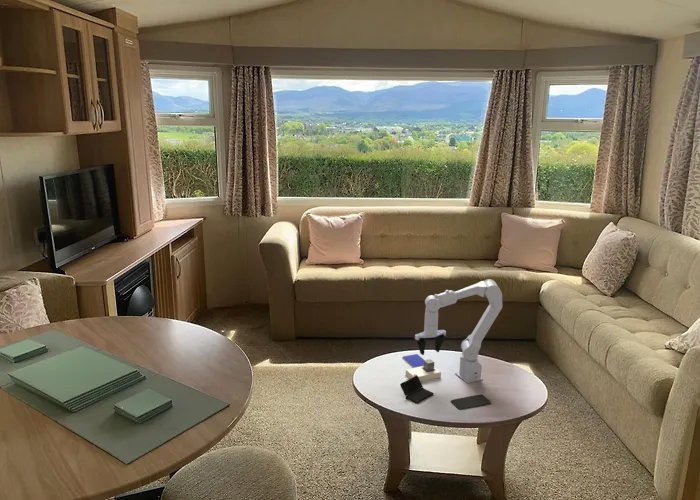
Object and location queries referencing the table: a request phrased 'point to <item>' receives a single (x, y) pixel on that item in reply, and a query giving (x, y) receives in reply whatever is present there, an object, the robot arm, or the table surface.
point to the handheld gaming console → (415, 390)
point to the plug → (428, 365)
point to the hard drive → (414, 360)
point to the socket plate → (423, 373)
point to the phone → (470, 402)
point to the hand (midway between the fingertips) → (429, 352)
